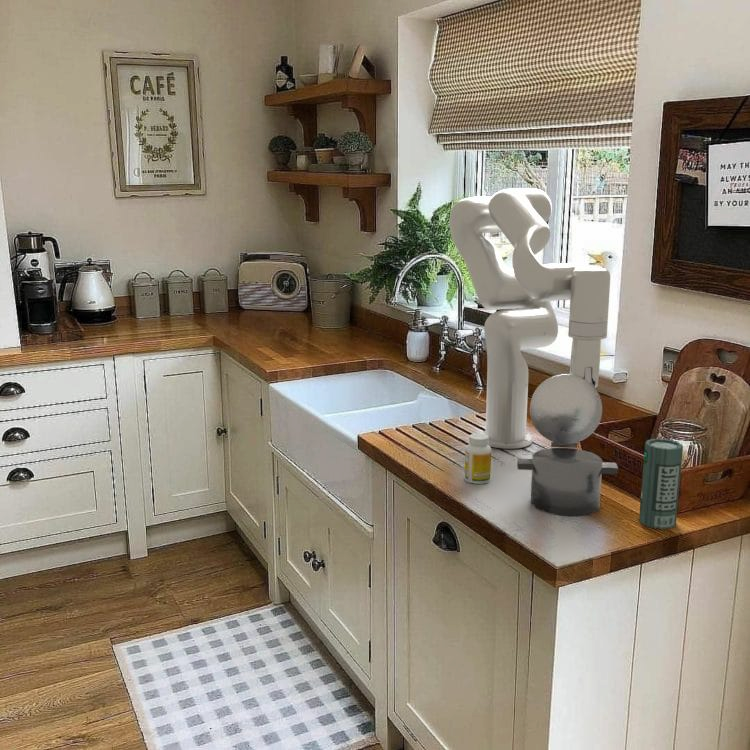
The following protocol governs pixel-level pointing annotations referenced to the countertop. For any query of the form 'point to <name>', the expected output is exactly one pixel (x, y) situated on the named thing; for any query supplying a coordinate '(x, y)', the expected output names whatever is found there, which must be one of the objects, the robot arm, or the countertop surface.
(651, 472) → the can
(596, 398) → the lid
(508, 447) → the robot arm
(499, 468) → the countertop surface
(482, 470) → the supplement bottle
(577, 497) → the pot
